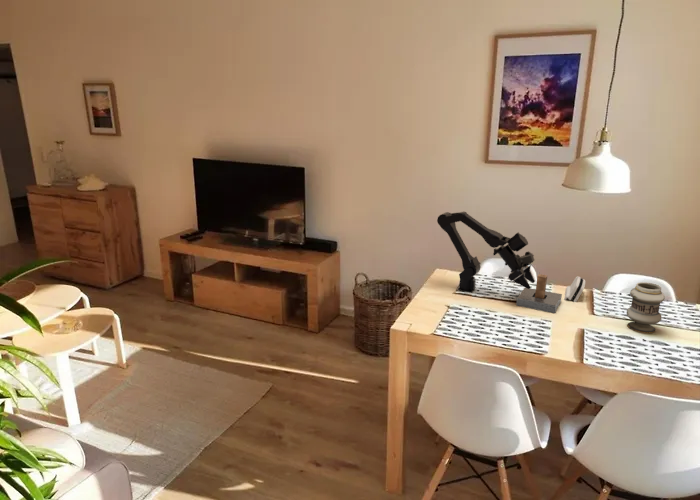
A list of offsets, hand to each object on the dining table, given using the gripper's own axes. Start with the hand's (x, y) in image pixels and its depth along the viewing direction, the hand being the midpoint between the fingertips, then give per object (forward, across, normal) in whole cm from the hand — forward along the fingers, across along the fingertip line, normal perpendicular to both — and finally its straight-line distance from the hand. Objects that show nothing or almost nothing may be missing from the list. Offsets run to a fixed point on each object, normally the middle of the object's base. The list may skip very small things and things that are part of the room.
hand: (531, 285), depth 225 cm
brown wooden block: (+8, 0, +3) cm, 9 cm away
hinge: (+17, +19, -6) cm, 26 cm away
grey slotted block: (+8, 0, +3) cm, 9 cm away
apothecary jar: (+36, -5, -26) cm, 45 cm away
